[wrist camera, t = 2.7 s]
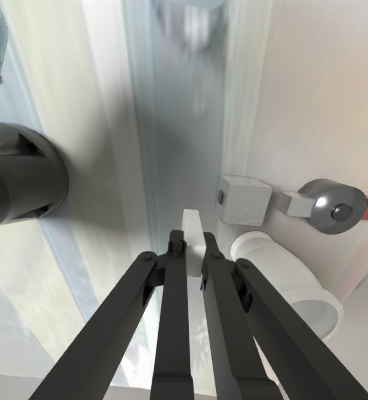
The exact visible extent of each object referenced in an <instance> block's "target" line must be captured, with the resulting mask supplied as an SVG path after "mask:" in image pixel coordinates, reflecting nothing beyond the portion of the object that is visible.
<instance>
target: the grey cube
mask: <svg viewBox="0 0 368 400" xmlns="http://www.w3.org/2000/svg"><path fill="white" fill-rule="evenodd" d="M272 190H273V188H272V187H270V186H268V185H267V184H265V183H263V182H261V181H259V180H258V179H256V178H249V177H239V176H229V175H220V180H219V185H218V191H217V196H216V202H215V209H216V211H217V213H218V215H219V217H220V219H221V222H222V223H228V224H240V225H252V226H262V223H263V220H264V216H265V213H266V210H267V206H268V203H269V200H270V196H271V193H272Z"/></svg>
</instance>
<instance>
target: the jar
mask: <svg viewBox="0 0 368 400" xmlns="http://www.w3.org/2000/svg"><path fill="white" fill-rule="evenodd" d="M231 257H232V259H233V260H234V262H235V261H236V259H238V258H245V259H248V260H249V261H251V262H252V263H253V264H254V265H255V266H256V267H257V268H258V269H259V271H260V272H261V273H262V274H263V275H264V276H265V277H266V278H267V280H268V281H269V282H270V283H271V284H272V285H273V286H274V287H275V289H276V290H277V291H278V292H279V293H280V294H281V295H282V296H283V298H284V299H285V300H286V301H287V302H288V303H289V304H290V305H291V307H292V308H293V309H294V310H295V311H296V312H297V313H298V315H299V316H300V317H301V318H302V319H303V320H304V321H305V322H306V324H307V325H308V326H309V327H310V328H311V329H312V330H313V331H314V333H315V334H316V335H317V336H318V337H319V338H320V339H321V340H322V342H324V341H325V340H327V339H328V338H330V337H331V336H332V335H333V334H334V333H335V332H336V331H337V330H338V329H339V327H340V326H341V324H342V322H343V318H344V309H343V306H342V304H341V303H340V302H339V301H338V299H337V298H336V297H335V296H334V295H333V294H331V293H330V292H328V291H326V290H324V289H323V288H322V286H321V285H320V283H319V282H318V280H317V279H316V278H315V276H314V275H313V274H312V272H311V271H310V270H309V269H308V268H307V267H306V266H305V265H304V264H303V263H302V262H301V261H300V260H299V259H298V258H297V257H296V256H294V255H293V254H292V253H290V252H289V251H287V250H286V249H285V248H283V247H282V246H281V245H279V244H278V243H276V242H274V241H272V239H271V238H270V237H269V236H268V235H267V234H265V233H263V232H260V231H251V232H247V233H244V234H242V235H241V236H239V237H238V238H237V239H236V240H235V241H234V242H233V244H232V246H231Z"/></svg>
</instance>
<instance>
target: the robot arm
mask: <svg viewBox="0 0 368 400" xmlns="http://www.w3.org/2000/svg"><path fill="white" fill-rule="evenodd" d="M7 41H8V27H7V23H6V20H5V18H4V16H3V14H2V12H1V10H0V85H1V84H2V83H3V77H2V75H1V70H2V65H3V61H4V56H5V51H6V46H7ZM67 191H68V174H67V170H66V167H65V165H64V163H63V161H62V159H61V157H60V155H59V154H58V153H57V151H56V150H55V149H54V147H53V146H52V145H51V144H50V143H49V142H48V141H47V140H45V139H44V138H43V137H42V136H40V135H39V134H37V133H36V132H34V131H32V130H30V129H28V128H26V127H24V126H21V125H17V124H13V123H5V122H0V225H4V224H10V223H15V222H21V221H26V220H32V219H36V218H39V217H42V216H44V215H46V214H48V213H49V212H51V211H53V210H54V209H56V208H57V207H59V206H60V205H61V203H62V202H63V201H64V199H65V197H66V195H67ZM201 274H202V276H203V277H202V282H201V288H200V290H202V289H203V297H204V304H205V311H206V319H207V326H208V334H209V341H210V349H211V356H212V363H213V371H214V378H215V386H216V393H217V400H284V399H283V396H282V394H281V392H280V390H279V388H278V386H277V385H276V383H275V382H274V381H272V380H271V379H269V378H268V376H267V374H266V372H265V369H264V366H263V364H262V361H261V358H260V355H259V352H258V349H257V347H256V344H255V341H254V338H255V339H256V341H257V343H258V345H259V346H260V348H261V350H262V352H263V353H264V355H265V357H266V359H267V360H268V362H269V364H270V366H271V367H272V369H273V371H274V373H275V374H276V376H277V378H278V380H279V381H280V383H281V385H282V387H283V388H284V390H285V392H286V394H287V395H288V397H289V399H290V400H368V393H367V391H366V390H365V389H364V388H363V387H362V386H361V384H360V383H359V382H358V381H357V380H356V379H355V378H354V377H353V375H352V374H351V373H350V372H349V371H348V370H347V369H346V368H345V366H344V365H343V364H342V363H341V362H340V361H339V360H338V359H337V357H336V356H335V355H334V354H333V353H332V352H331V351H330V349H329V348H328V347H327V346H326V345H325V344H324V343H323V342H322V340H321V339H320V338H319V337H318V336H317V335H316V334H315V333H314V331H313V330H312V329H311V328H310V327H309V326H308V325H307V324H306V322H305V321H304V320H303V319H302V318H301V317H300V316H299V315H298V313H297V312H296V311H295V310H294V309H293V308H292V307H291V305H290V304H289V303H288V302H287V301H286V300H285V299H284V298H283V296H282V295H281V294H280V293H279V292H278V291H277V290H276V289H275V287H274V286H273V285H272V284H271V283H270V282H269V281H268V280H267V278H266V277H265V276H264V275H263V274H262V273H261V272H260V271H259V269H258V268H257V267H256V266H255V265H254V264H253V263H252V262H251V261H249V260H248V259H245V258H238V259H236V261H235V262H233V261H230V260H227V259H225V257H224V255H223V254H222V253H221V252H219V249H218V246H217V243H216V240H215V237H214V235H213V234H212V233H210V232H203V231H202V226H201V222H200V217H199V213H198V210H192V209H184V213H183V222H182V231H181V230H172V231H171V232H170V239H169V243H168V251H167V253H165V254H163V255H160V256H157V254H156V253H154V252H151V251H146V252H142V253H141V254H140V255H139V256H138V257H137V258H136V259H135V261H134V262H133V263H132V265H131V266H130V267H129V269H128V270H127V271H126V273H125V274H124V275H123V276H122V278H121V279H120V280H119V282H118V283H117V284H116V286H115V287H114V288H113V290H112V291H111V292H110V294H109V295H108V296H107V297H106V299H105V300H104V301H103V303H102V304H101V305H100V307H99V308H98V309H97V311H96V312H95V313H94V314H93V316H92V317H91V318H90V320H89V321H88V322H87V324H86V325H85V326H84V328H83V329H82V330H81V331H80V333H79V334H78V335H77V337H76V338H75V339H74V341H73V342H72V343H71V345H70V346H69V347H68V348H67V350H66V351H65V352H64V354H63V355H62V356H61V358H60V359H59V360H58V362H57V363H56V364H55V366H54V367H53V368H52V369H51V371H50V372H49V373H48V375H47V376H46V377H45V379H44V380H43V381H42V383H41V384H40V385H39V386H38V388H37V389H36V390H35V392H34V393H33V394H32V396H31V397H30V398H29V400H102V399H103V398H104V395H105V393H106V391H107V389H108V387H109V385H110V383H111V381H112V379H113V376H114V374H115V372H116V370H117V368H118V366H119V364H120V362H121V360H122V358H123V355H124V353H125V351H126V349H127V347H128V345H129V343H130V341H131V339H132V337H133V334H134V332H135V330H136V328H137V326H138V324H139V322H140V320H141V318H142V315H143V313H144V311H145V309H146V307H147V305H148V303H149V301H150V299H151V297H152V294H153V292H154V290H155V287H156V286H161V285H164V288H163V296H162V305H161V313H160V322H159V330H158V339H157V347H156V356H155V364H154V372H153V378H152V386H151V394H150V400H194V387H193V379H192V376H191V370H190V346H189V321H188V296H187V276H194V277H201ZM251 332H252V333H251ZM252 334H253V335H252ZM253 336H254V338H253Z"/></svg>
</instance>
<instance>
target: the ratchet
mask: <svg viewBox="0 0 368 400" xmlns="http://www.w3.org/2000/svg"><path fill="white" fill-rule="evenodd" d="M276 208H277V209H278V210H280V211H281V212H282V213H284V214H285V215H288V216H298V217H300V218H301V219H303V220H304V221H306V222H307V223H309V224H310V225H312V226H313V227H315V228H316V229H318V230H319V231H321V232H323V233H325V234H339V233H342V232H345V231H347V230H349V229H350V228H352V227H353V226H355V225H356V224H357V223H358V222H359V221H360V220H361V219H364V220H368V196H365V194H364V193H363V192H362V191H361V190H359V189H357V188H354V187H351V186H347V185H344V184H341V183H337V182H334V181H330V180H327V179H317V180H313V181H311V182H309V183H307V184H306V185H304V186H303V187H302V188H301V189H300V190H299V191H298V193H293V192H283V191H281V194H280V197H279V200H278V204H277V207H276Z"/></svg>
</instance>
